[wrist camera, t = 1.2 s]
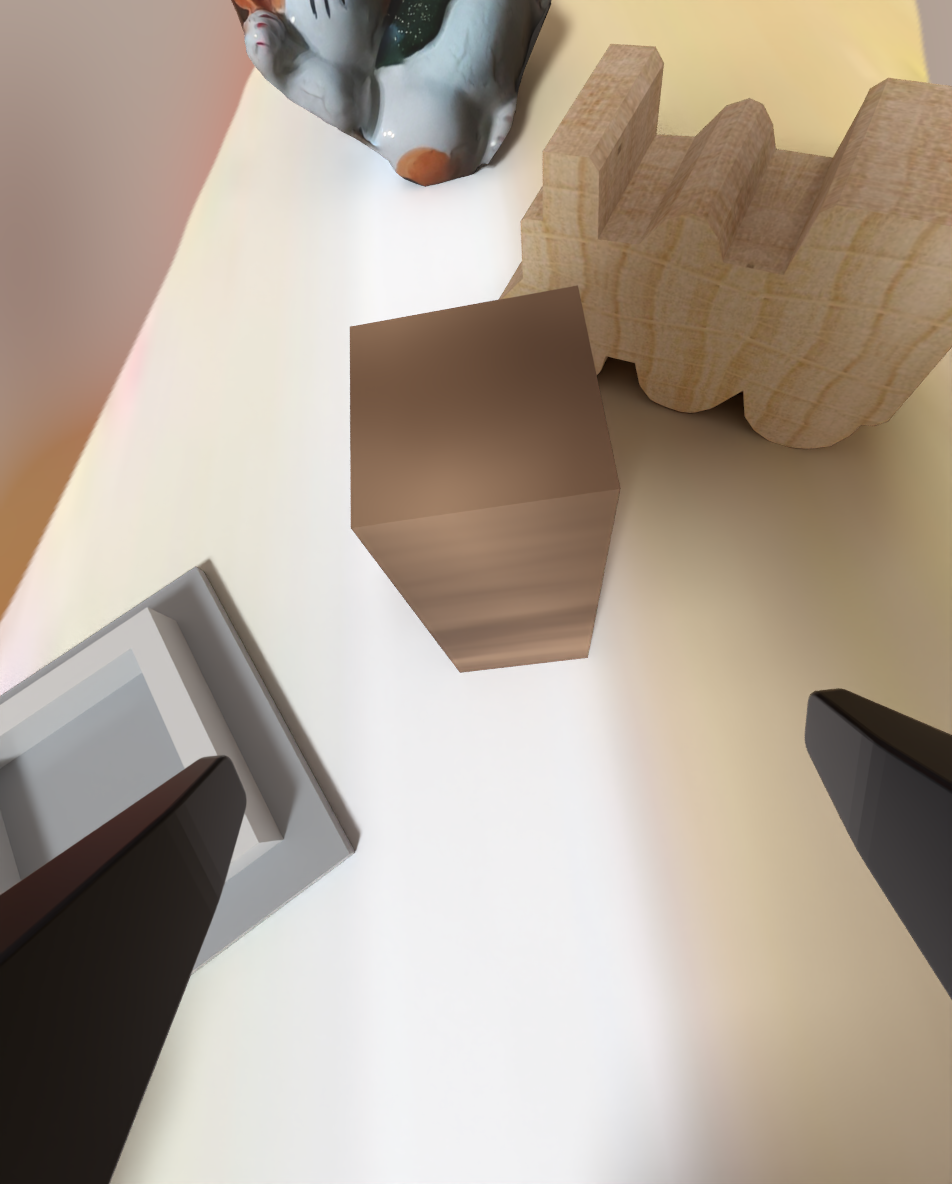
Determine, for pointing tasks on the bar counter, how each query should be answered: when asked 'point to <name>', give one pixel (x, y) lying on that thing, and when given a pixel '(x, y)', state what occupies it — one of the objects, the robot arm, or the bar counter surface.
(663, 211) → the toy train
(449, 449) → the tapered wooden block
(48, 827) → the bay tray
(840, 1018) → the bar counter surface
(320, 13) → the lucky cat figurine
